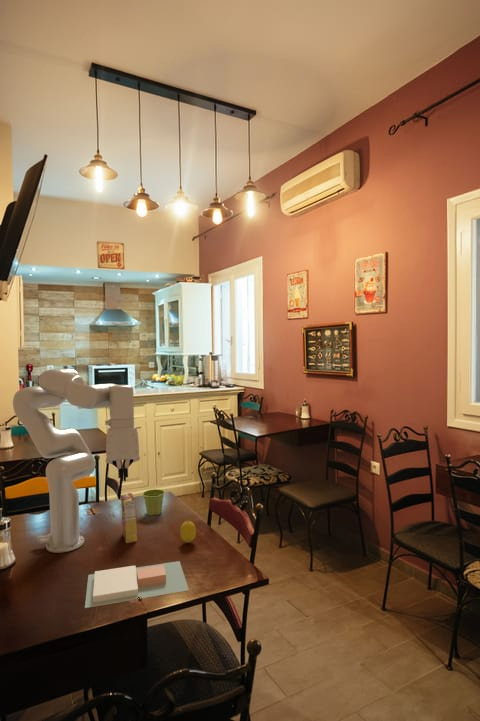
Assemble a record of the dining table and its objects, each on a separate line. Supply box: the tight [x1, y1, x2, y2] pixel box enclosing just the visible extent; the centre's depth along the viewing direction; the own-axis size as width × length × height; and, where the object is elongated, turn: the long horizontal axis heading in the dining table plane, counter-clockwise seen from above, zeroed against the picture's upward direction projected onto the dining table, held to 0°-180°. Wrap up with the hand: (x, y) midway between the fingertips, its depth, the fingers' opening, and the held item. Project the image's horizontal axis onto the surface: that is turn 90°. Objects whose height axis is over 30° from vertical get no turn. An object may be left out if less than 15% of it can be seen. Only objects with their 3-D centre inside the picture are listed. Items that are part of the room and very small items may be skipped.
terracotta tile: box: [137, 565, 166, 588], centre depth 129 cm, size 8×6×2 cm
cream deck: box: [93, 565, 138, 602], centre depth 127 cm, size 12×14×2 cm
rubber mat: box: [84, 560, 190, 609], centre depth 128 cm, size 28×18×1 cm, turn 106°
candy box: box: [120, 492, 138, 544], centre depth 159 cm, size 9×4×15 cm, turn 23°
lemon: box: [179, 520, 197, 544], centre depth 155 cm, size 6×6×8 cm
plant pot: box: [142, 488, 166, 516], centre depth 184 cm, size 9×9×9 cm
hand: (123, 479), depth 140 cm, fingers closed
